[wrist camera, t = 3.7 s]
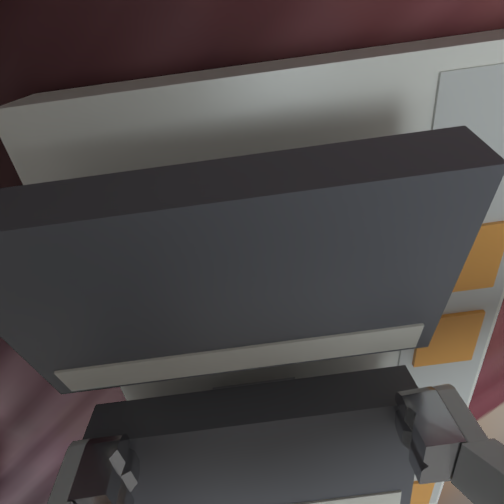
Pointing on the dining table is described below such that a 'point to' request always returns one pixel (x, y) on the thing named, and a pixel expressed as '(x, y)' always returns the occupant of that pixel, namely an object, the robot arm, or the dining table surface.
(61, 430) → the dining table surface
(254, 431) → the rocker middle
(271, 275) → the panel
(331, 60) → the switch panel
